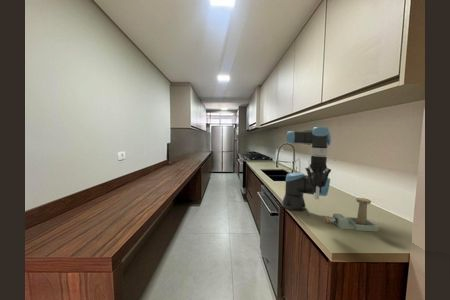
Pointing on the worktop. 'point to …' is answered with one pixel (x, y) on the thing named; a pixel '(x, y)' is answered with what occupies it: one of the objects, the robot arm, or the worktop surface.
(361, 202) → the handle
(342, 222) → the dock
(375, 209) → the worktop surface
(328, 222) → the lock pin
